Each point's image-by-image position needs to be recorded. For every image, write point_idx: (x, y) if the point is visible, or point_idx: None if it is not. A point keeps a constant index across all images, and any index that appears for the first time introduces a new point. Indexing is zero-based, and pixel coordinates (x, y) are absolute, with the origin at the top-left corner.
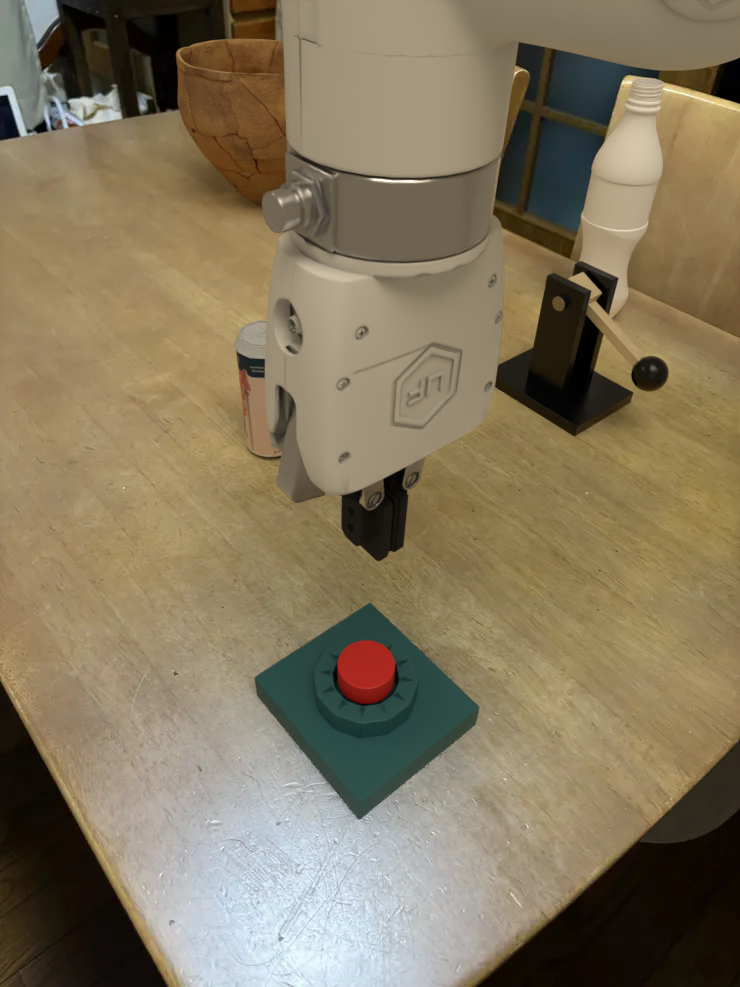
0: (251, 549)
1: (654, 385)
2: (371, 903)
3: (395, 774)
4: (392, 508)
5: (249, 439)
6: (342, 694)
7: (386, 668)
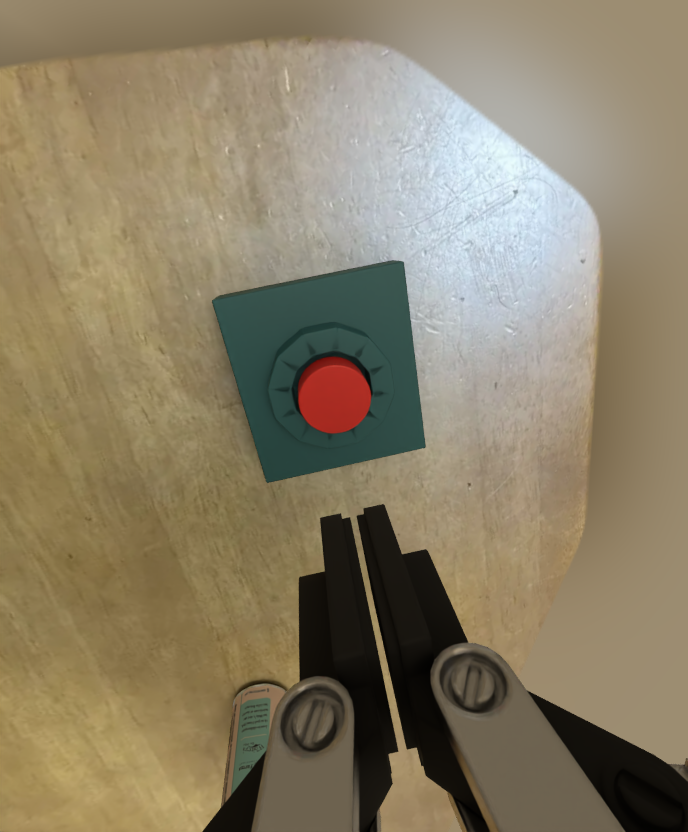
0: None
1: None
2: (426, 172)
3: (351, 272)
4: (385, 627)
5: None
6: None
7: (316, 383)
